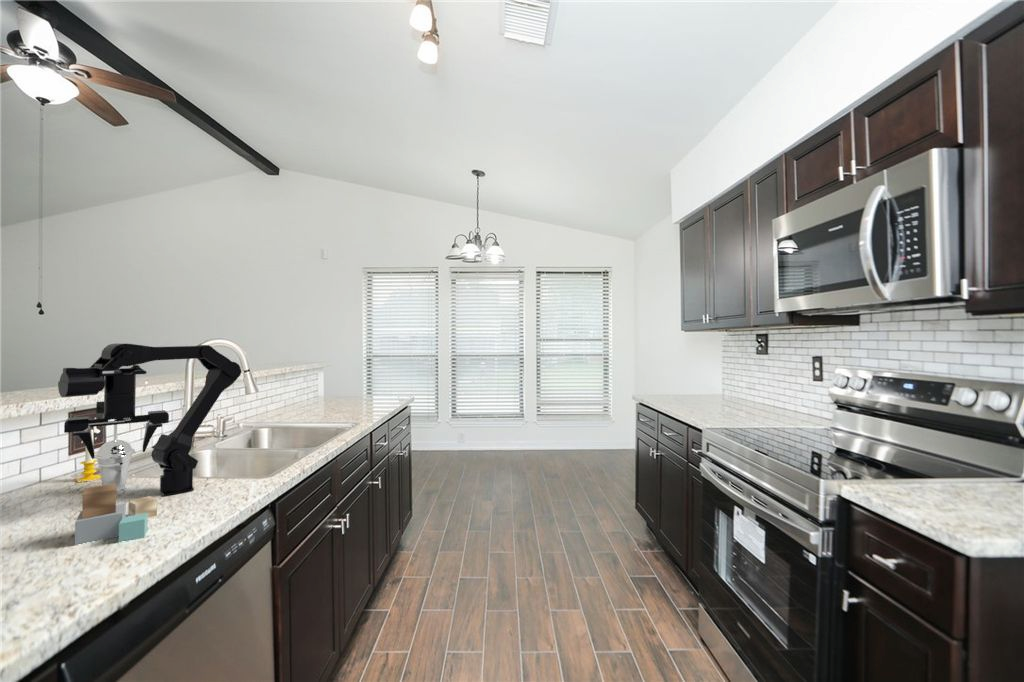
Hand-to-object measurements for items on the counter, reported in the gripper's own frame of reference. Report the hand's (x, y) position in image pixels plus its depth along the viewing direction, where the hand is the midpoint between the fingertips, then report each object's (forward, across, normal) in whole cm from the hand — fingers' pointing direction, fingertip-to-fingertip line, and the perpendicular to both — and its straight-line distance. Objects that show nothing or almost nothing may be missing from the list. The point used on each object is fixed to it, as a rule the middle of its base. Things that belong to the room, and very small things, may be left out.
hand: (119, 454), depth 103 cm
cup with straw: (+13, 0, -17) cm, 22 cm away
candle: (+13, +6, -34) cm, 37 cm away
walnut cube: (+8, +3, +18) cm, 20 cm away
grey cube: (+13, +3, +18) cm, 22 cm away
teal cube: (+13, -2, +24) cm, 27 cm away
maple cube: (+13, -4, +12) cm, 18 cm away
